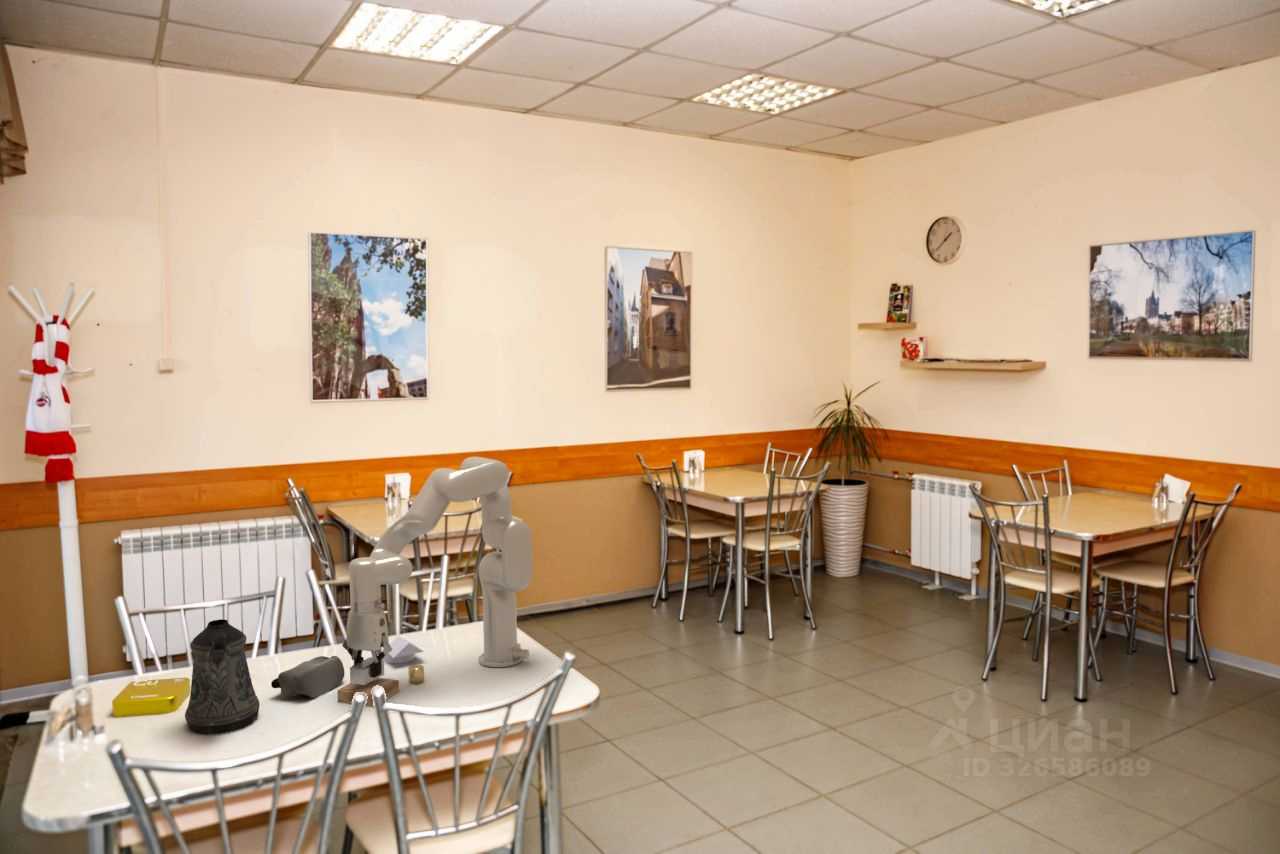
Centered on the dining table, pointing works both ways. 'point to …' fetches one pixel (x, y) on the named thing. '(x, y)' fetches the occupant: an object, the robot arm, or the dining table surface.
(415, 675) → the bushing
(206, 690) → the ornate dark jug
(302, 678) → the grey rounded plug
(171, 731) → the dining table surface
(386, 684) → the stand
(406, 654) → the wedge on round base
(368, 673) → the block
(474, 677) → the dining table surface
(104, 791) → the dining table surface
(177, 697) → the element tile
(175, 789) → the dining table surface
